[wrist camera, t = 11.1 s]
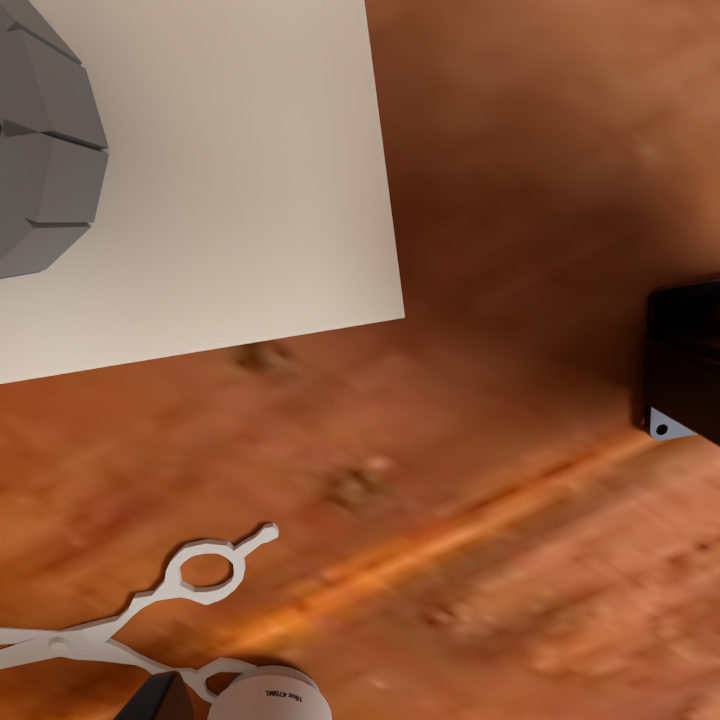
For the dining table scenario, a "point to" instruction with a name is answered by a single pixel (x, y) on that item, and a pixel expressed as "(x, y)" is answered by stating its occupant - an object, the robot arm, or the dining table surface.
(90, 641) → the scissors
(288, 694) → the energy drink can
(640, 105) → the dining table surface
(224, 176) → the plate
